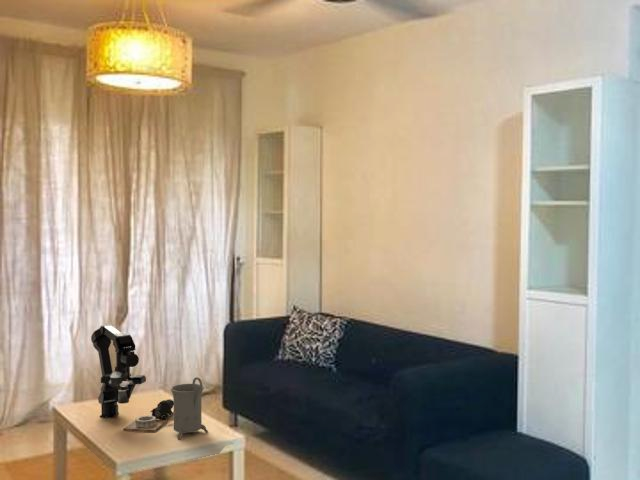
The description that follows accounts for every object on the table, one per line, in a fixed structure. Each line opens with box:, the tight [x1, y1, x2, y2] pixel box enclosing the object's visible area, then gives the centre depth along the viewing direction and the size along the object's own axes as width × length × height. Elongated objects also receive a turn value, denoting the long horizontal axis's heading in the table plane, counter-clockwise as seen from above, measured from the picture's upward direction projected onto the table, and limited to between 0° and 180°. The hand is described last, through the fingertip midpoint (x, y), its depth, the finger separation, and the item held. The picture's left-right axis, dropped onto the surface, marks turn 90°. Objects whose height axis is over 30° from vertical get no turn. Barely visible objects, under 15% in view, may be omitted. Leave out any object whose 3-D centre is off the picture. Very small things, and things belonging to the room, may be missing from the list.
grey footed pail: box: [170, 376, 209, 441], centre depth 279 cm, size 19×15×25 cm
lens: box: [117, 384, 130, 405], centre depth 292 cm, size 5×5×7 cm
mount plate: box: [123, 415, 168, 433], centre depth 289 cm, size 14×14×4 cm
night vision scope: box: [150, 399, 174, 420], centre depth 302 cm, size 8×18×10 cm
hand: (123, 398), depth 292 cm, fingers closed on lens, 5 cm apart
